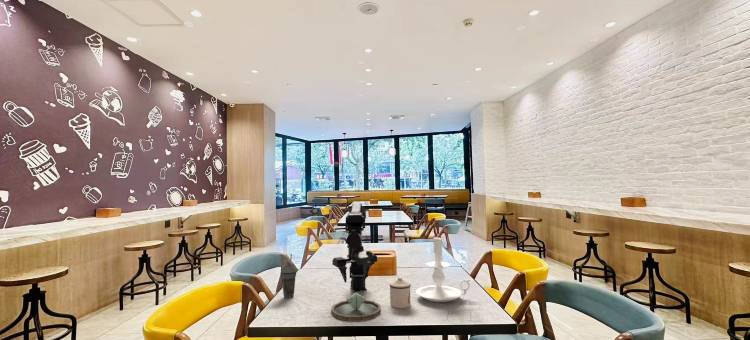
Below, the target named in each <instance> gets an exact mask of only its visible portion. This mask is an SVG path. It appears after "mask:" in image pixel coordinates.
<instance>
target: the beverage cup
mask: <svg viewBox="0 0 750 340" xmlns="http://www.w3.org/2000/svg"><path fill="white" fill-rule="evenodd" d="M292 257H293V254H292V253H290V258H289V259H290V260H289V262H287V263H285V264H284V265H283V266H282V267H281V272H280V275H281V279H282V280H281V281H282V294H283V299H293V298H294V297H295V288H296V286H295V285H296V277H297V273H298V272H297V267H296V265H295V264H294V263H292Z"/></svg>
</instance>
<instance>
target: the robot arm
mask: <svg viewBox="0 0 750 340" xmlns="http://www.w3.org/2000/svg"><path fill="white" fill-rule="evenodd" d="M366 219H367V210H366V208H365V206H363V203H359V202H357V203H355V202H353V203H351V206H350V207H349V208H348V213H347V215H346V216H345V226H344V227H345V228H344V231H345V232H347V234H348V235H347V236H346V247H347V248H348V249H347V250H348V251H347V252H348V254H347V255H346V256H347V257H346V258H345V257H342V256H338V257H333V258H332V261H331V263H332V265H333V266H334V267H336V268H337V269H338V270H339V272H340V274H341V276H342V279H343V281H344V283H347V269H348V266H346V265H347V264H350V265H349V279H351V280H350V287H349V289H350V290H352V292H353V291H354V292H355V293H358V292H362V291H363V292H364V291H367V290H368V288H366V280H367V278H369V272H370V269H371V267H372V266H373V265H375V263H377V262H378V256H377V255H376V254H374V253H373V251H372V250H366V251H365V249H364V245H363V232H364V230H365V229H366Z"/></svg>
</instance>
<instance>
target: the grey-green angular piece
mask: <svg viewBox="0 0 750 340" xmlns="http://www.w3.org/2000/svg"><path fill="white" fill-rule="evenodd" d="M365 300H367V298H366V297H365V296H363V295H361V294H359V293H358V292H355V293H354V292H353V294H351V296H348V297H347V298H346V301H348V302H349V303H350V304H351V306H352V308H353V309H355V310H358V309H359V308H360V307H361V304H362V303H363V302H364V301H365Z"/></svg>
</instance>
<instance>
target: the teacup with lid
mask: <svg viewBox="0 0 750 340" xmlns="http://www.w3.org/2000/svg"><path fill="white" fill-rule="evenodd" d="M389 291H390V293H389V297H390V298H389V299H390V300H389V301H390V302H389V303H390V306H391V307H392V308H395V309H406V308H409V307H411V283H410V282H409V281H406V280H405V279H403V277H400V276H399V277H397V279H395V280H394V281H391V282H390V283H389Z"/></svg>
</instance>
